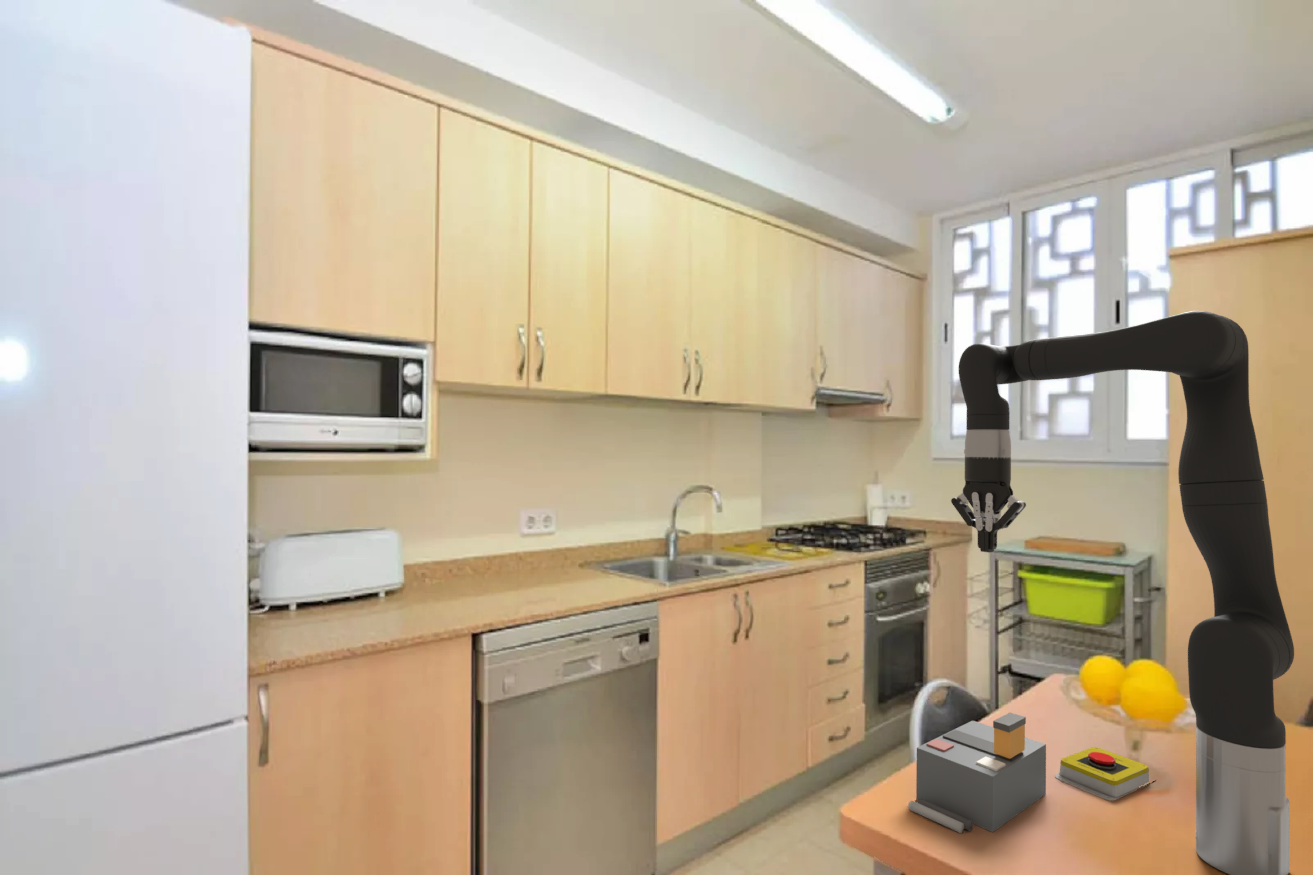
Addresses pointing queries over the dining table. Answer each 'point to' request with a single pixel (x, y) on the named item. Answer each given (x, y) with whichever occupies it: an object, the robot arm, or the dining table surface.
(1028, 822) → the dining table surface
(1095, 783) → the emergency button
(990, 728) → the breaker box
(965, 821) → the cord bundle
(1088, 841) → the dining table surface
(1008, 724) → the breaker handle
